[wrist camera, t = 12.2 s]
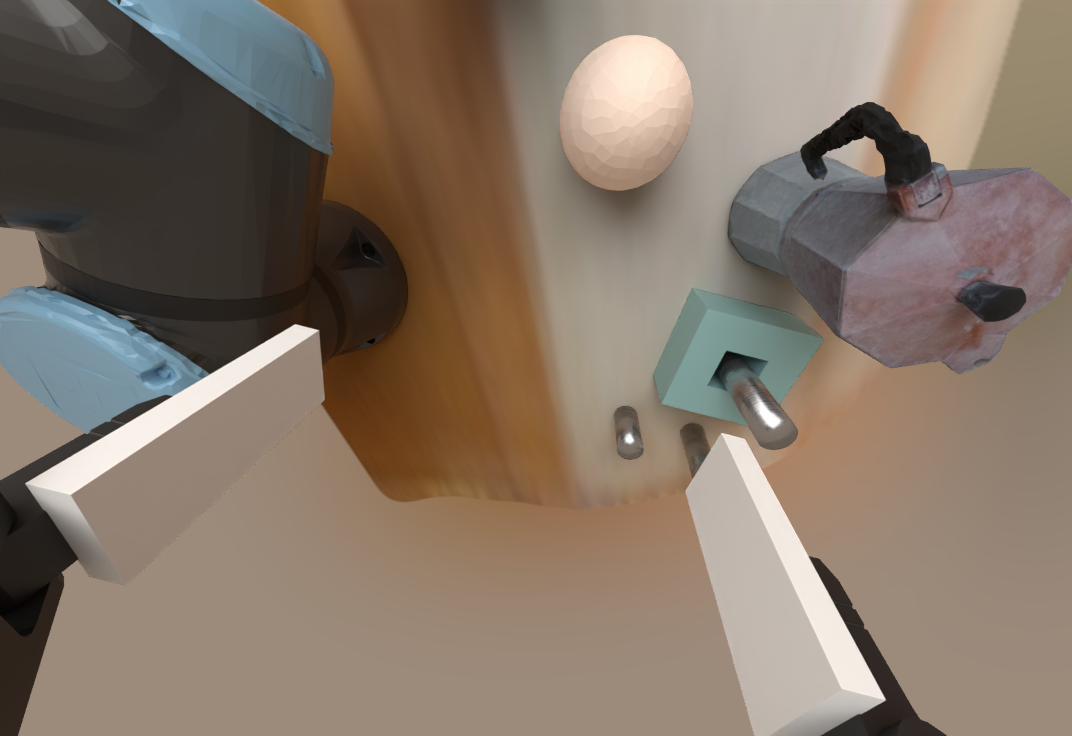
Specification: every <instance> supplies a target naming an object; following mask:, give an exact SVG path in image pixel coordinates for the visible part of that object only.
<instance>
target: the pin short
mask: <svg viewBox="0 0 1072 736" xmlns="http://www.w3.org/2000/svg"><path fill="white" fill-rule="evenodd" d="M614 419H615V429H616V440H617V450H618V454H619V455H620V456H621V457H622V458H624V459H628V460H632V459H636V458H638V457H640V456H641V455H642V453H643V444H642V439H641V433H640V428H639V422H638V417H637V412H636V410H635V409H634V408H632V407H630V406H622V407H620V408H618V409H617V410H616V411H615V413H614Z"/></svg>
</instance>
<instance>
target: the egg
mask: <svg viewBox="0 0 1072 736" xmlns="http://www.w3.org/2000/svg"><path fill="white" fill-rule="evenodd" d="M692 111H693V95H692V88H691V82H690V80H689V77H688V74H687V72H686V69H685V66H684V64H683V63H682V62H681V61H680V59H679V58H678V57H677V55H676V54H675V53H674V52H673V50H672V49H671V48H669V47H668V46H666V45H665V44H663V43H662V42H661V41H659V40H658V39H656V38H651V37H646V36H641V35H628V36H622V37H618V38H616V39H613V40H610V41H608V42H605V43H604V44H602V45H601V46H599V47H598V48H596V49H595V50H593V51H592V52H591V53H590V54H589V55H588V56H587V57H586V58H585V59H584V60H583V61H582V62H581V63H580V65H579V66H578V67H577V69H576V70H575V71H574V73H573V75H572V77H571V79H570V81H569V83H568V85H567V88H566V90H565V92H564V96H563V100H562V105H561V109H560V136H561V141H562V145H563V149H564V152H565V154H566V156H567V158H568V160H569V162H570V164H571V165H572V167H573V168H574V169H575V171H576V172H577V173H578V174H579V175H580V176H581V177H582V178H583V179H585V180H586V181H588V182H589V183H590V184H592V185H595V186H597V187H600V188H603V189H606V190H616V191H623V190H628V189H633V188H637V187H639V186H641V185H643V184H646V183H648V182H650V181H652V180H653V179H655V178H656V177H657V176H658V175H660V174H661V173H662V172H663V171H664V170H665V169H666V168H667V167H668V166H669V165H670V164H671V162H672V161H673V160H674V158H675V157H676V156H677V154H678V153H679V151H680V149H681V147H682V145H683V143H684V141H685V138H686V136H687V133H688V130H689V126H690V122H691V118H692Z"/></svg>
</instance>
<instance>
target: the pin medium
mask: <svg viewBox="0 0 1072 736" xmlns="http://www.w3.org/2000/svg"><path fill="white" fill-rule="evenodd" d="M680 435H681V438H682V442H683V446H684V449H685V453H686V457H687V460H688V464H689V468H690V471H691V475H692V479H693V478H694V476H695V475H696V473H697V471H698V470H699V468H700V467H701V465H702V463H703V462H704V460H705V459H706V457H707V455H708V454H709V452H710V451H711V449H710V446H709V443H708V440H707V438H706V435H705V432H704V429H703V428H702V426H700V425H698V424H688V425H685V426H684V427H683V428H682V429H681V431H680Z"/></svg>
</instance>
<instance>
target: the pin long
mask: <svg viewBox="0 0 1072 736" xmlns="http://www.w3.org/2000/svg"><path fill="white" fill-rule="evenodd" d="M716 372H717V373H718V375H719V377H720V378H721V380H722V382H723V384H724V385H725V387H726V389H727V390H728V392H729V394H730V396H731V397H732V399H733V401H734V402H735V404H736V406H737V407H738V409H739V411H740V413H741V414H742V416H743V418H744V419H745V421H746V423H747V425H748V426H749V428H750V430H751V431H752V433H753V435H754V437H755V438H756V440H757V442H758V443H759V445H760V446H762V447H763V448H766V449H770V450H777V449H782V448H785V447H787V446H789V445H790V444H792V443H793V442H794V441H795V439H796V438H797V435H798V430H797V428H796V426H795V425H794V424H793V422H792V421H791V420H790V418H789V417H788V416H787V414H786V413H785V412H784V410H783V409H782V408H781V406H780V405H779V404H778V402H777V401H776V400H775V398H774V397H773V396H772V395H771V393H770V392H769V391H768V389H767V388H766V387H765V385H764V384H763V383H762V381H761V380H760V379H759V377H758V376H757V375H756V373H755V372H754V371H753V369H752V368H751V367H750V365H749V364H748V363H747V361H746V360H745V359H744V358H743V356H742V355H741V354H738V353H735V352H731V351H727V350H726V352H725V354H724V356H723V358H722V359H721V361H720V363H719V365H718V367H717V368H716Z"/></svg>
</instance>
